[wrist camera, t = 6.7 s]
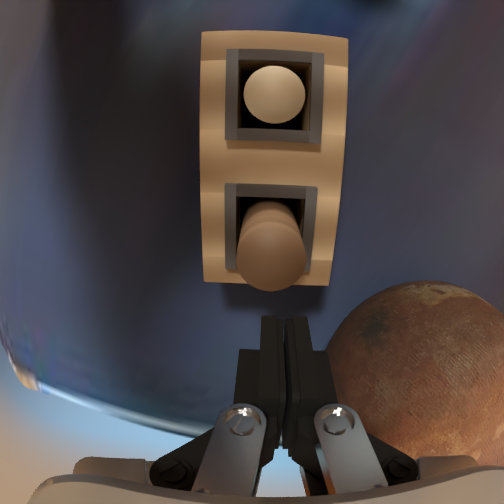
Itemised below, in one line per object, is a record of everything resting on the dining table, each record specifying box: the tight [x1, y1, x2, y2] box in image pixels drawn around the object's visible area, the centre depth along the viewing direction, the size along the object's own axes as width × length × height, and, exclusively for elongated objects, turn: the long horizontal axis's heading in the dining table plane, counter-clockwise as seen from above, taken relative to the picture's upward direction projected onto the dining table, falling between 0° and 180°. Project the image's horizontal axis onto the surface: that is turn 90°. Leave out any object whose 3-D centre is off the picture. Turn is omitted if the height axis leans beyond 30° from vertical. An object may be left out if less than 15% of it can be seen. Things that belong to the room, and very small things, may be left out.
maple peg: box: [244, 66, 305, 123], centre depth 22 cm, size 4×4×7 cm
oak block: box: [200, 31, 348, 286], centre depth 23 cm, size 19×10×7 cm, turn 179°
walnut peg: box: [236, 197, 307, 291], centre depth 21 cm, size 4×4×7 cm
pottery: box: [325, 281, 504, 466], centre depth 23 cm, size 23×23×25 cm
